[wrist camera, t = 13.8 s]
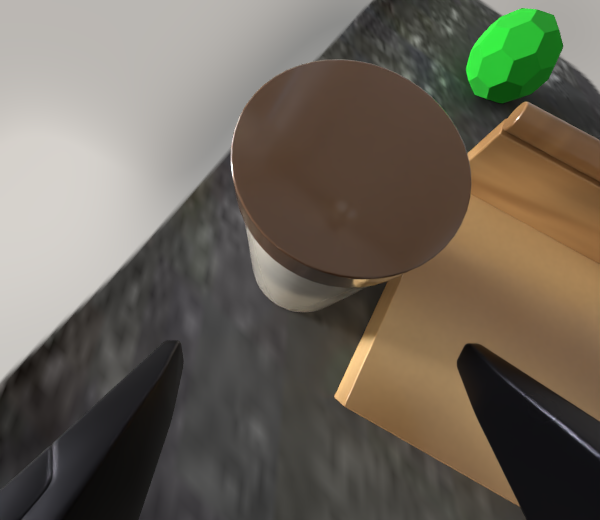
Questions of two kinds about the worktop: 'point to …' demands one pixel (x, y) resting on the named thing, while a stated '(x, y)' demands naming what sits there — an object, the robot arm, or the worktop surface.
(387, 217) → the cylinder
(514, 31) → the polyhedron
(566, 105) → the worktop surface
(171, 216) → the worktop surface
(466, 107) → the worktop surface
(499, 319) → the wooden ramp
